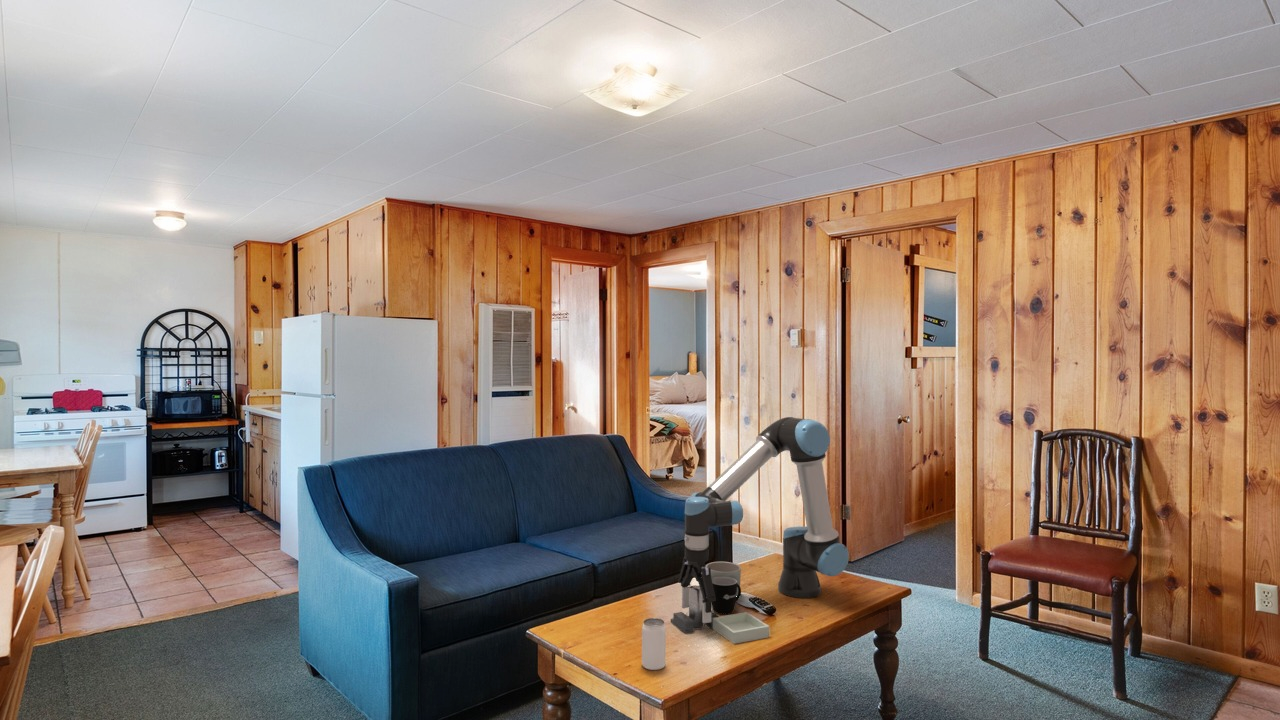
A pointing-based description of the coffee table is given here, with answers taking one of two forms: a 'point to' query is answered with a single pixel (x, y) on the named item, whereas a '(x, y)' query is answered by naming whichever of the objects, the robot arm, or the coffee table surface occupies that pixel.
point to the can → (653, 644)
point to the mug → (725, 594)
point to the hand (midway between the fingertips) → (696, 614)
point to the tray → (740, 627)
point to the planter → (725, 570)
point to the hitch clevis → (688, 622)
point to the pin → (695, 606)
